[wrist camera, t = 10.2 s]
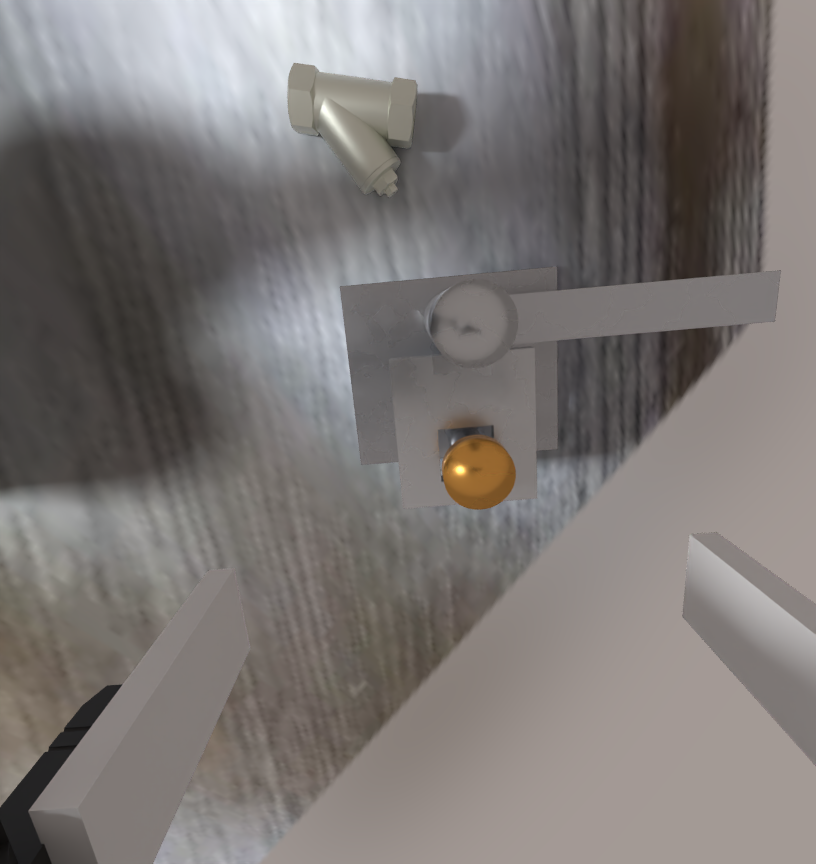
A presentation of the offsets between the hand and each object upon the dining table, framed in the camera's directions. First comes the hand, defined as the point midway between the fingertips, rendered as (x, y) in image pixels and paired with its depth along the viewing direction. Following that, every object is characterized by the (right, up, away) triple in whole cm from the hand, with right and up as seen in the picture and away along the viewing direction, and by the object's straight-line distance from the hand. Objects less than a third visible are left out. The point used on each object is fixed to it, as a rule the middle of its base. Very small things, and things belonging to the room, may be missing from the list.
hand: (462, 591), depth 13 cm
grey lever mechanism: (+5, +9, +23) cm, 26 cm away
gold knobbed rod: (+3, +5, +24) cm, 24 cm away
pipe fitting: (-5, +25, +20) cm, 32 cm away
